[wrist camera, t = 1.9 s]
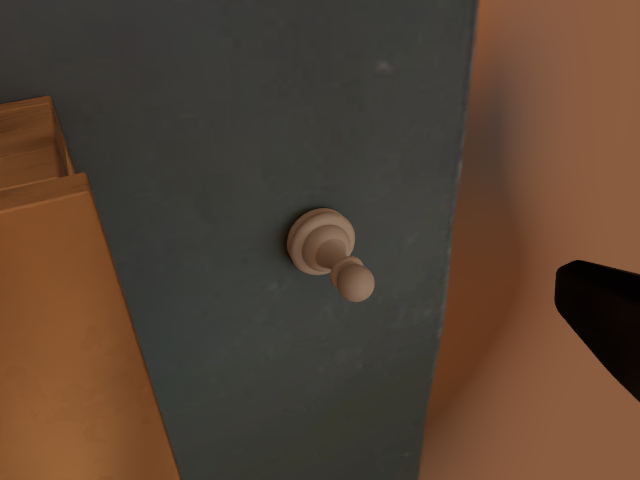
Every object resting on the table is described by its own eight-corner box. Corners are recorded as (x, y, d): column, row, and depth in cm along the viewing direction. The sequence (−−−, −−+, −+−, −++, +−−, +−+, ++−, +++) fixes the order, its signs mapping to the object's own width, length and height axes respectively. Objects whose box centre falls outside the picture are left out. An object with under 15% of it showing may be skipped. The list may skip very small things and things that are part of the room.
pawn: (303, 278, 23) (347, 339, 20) (272, 232, 21) (315, 291, 18) (357, 241, 23) (409, 295, 20) (331, 192, 21) (383, 243, 18)
